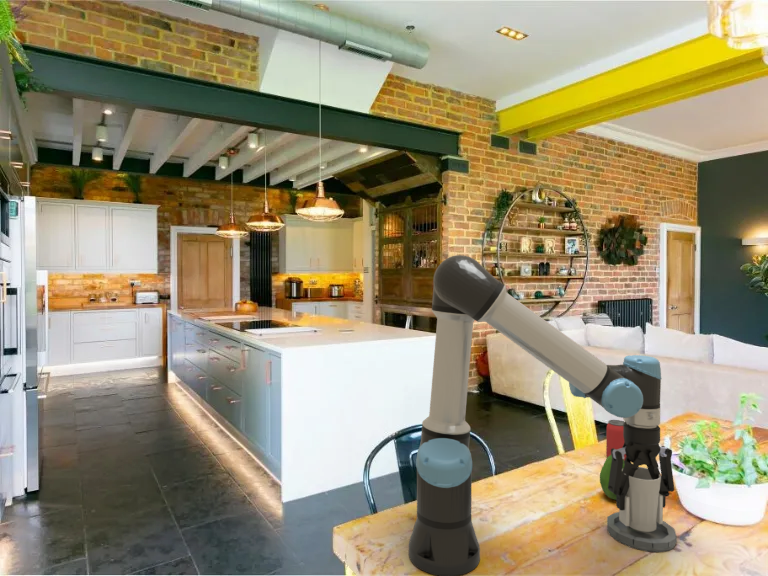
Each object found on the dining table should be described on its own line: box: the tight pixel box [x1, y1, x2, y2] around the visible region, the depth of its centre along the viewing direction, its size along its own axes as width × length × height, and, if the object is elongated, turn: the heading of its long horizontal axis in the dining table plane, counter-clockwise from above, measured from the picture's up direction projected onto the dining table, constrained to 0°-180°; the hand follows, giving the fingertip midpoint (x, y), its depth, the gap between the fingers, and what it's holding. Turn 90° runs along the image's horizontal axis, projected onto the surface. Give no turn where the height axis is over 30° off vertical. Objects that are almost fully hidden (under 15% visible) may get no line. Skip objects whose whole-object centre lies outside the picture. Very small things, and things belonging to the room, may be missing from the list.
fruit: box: [599, 455, 625, 501], centre depth 131 cm, size 8×8×12 cm
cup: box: [622, 466, 661, 532], centre depth 113 cm, size 8×8×12 cm
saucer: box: [606, 511, 678, 553], centre depth 113 cm, size 14×14×2 cm
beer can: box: [605, 419, 626, 461], centre depth 160 cm, size 7×7×12 cm
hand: (640, 521), depth 113 cm, fingers closed on cup, 7 cm apart
